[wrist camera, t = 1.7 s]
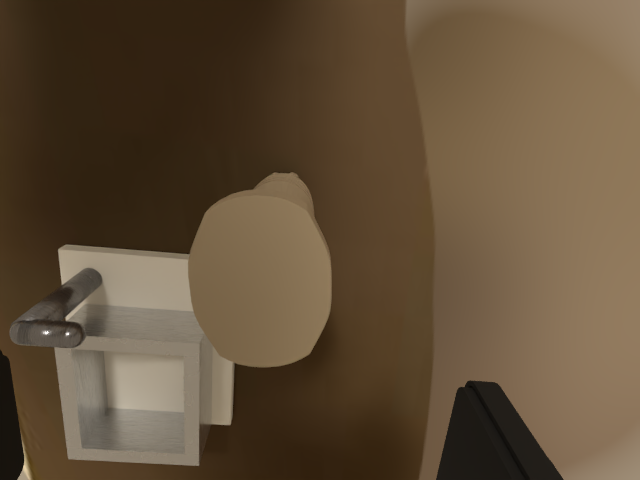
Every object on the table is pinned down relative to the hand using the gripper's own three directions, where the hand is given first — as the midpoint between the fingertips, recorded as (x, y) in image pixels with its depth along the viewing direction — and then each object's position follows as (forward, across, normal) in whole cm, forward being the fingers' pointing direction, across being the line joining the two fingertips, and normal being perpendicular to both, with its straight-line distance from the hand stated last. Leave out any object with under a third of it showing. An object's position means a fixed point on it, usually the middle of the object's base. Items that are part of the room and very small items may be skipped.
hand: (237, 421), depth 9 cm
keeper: (+21, +9, +11) cm, 26 cm away
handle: (+21, 0, -1) cm, 21 cm away
